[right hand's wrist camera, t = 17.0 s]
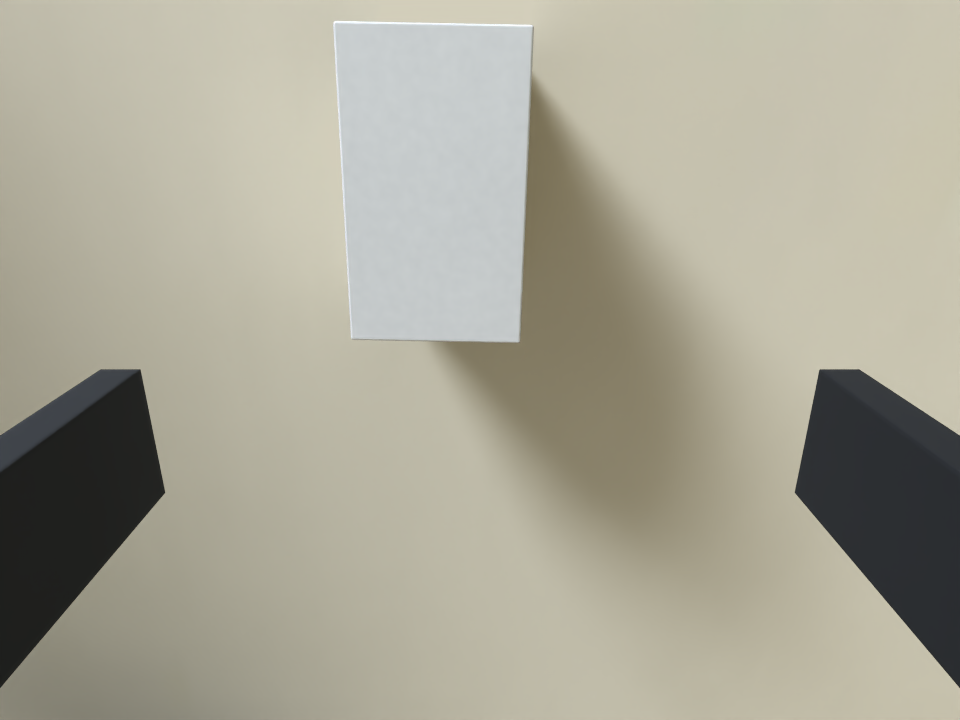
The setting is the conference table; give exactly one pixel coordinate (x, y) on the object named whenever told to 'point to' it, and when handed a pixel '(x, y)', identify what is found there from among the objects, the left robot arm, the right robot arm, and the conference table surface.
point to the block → (434, 177)
